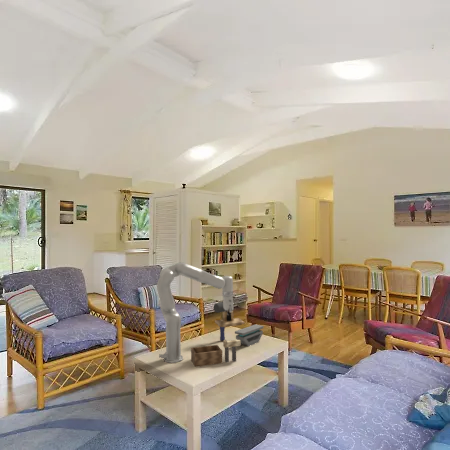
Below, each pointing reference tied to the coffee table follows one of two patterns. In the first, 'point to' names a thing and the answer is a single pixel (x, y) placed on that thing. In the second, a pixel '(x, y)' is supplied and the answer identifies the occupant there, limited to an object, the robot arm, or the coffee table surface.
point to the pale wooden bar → (231, 343)
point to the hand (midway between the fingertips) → (228, 319)
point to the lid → (229, 323)
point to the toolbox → (210, 355)
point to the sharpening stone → (249, 334)
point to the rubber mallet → (219, 308)
